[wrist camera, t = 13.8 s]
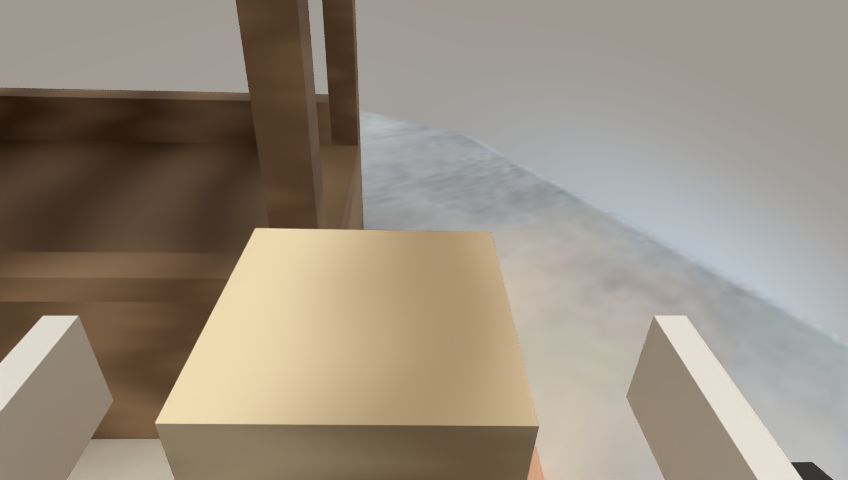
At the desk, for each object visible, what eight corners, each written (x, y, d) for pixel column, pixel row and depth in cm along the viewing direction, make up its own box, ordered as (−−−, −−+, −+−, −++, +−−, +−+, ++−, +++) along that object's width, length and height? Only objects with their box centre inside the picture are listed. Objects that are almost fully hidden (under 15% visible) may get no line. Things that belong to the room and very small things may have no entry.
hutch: (-277, 440, 20) (-1540, -772, 7) (-4, 232, 34) (-262, -318, 21) (336, 436, 21) (240, -637, 8) (363, 235, 35) (344, -288, 22)
